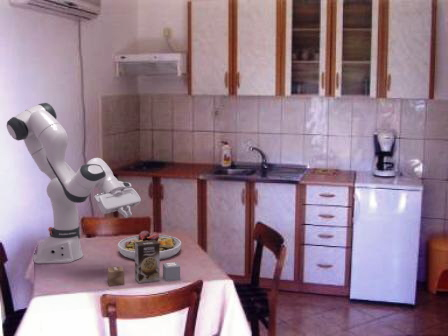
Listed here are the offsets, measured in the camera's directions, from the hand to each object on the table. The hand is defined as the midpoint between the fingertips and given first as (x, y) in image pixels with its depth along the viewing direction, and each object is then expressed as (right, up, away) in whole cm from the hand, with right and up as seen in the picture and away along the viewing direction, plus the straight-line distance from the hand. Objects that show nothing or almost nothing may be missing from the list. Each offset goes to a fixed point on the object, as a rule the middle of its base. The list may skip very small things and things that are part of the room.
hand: (128, 216), depth 242 cm
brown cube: (-5, -27, -4) cm, 28 cm away
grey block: (+18, -26, +2) cm, 32 cm away
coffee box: (+8, -27, 0) cm, 28 cm away
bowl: (+4, -21, +37) cm, 43 cm away
